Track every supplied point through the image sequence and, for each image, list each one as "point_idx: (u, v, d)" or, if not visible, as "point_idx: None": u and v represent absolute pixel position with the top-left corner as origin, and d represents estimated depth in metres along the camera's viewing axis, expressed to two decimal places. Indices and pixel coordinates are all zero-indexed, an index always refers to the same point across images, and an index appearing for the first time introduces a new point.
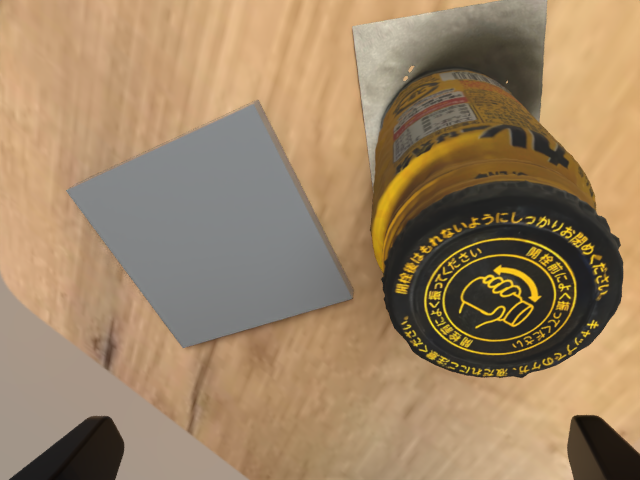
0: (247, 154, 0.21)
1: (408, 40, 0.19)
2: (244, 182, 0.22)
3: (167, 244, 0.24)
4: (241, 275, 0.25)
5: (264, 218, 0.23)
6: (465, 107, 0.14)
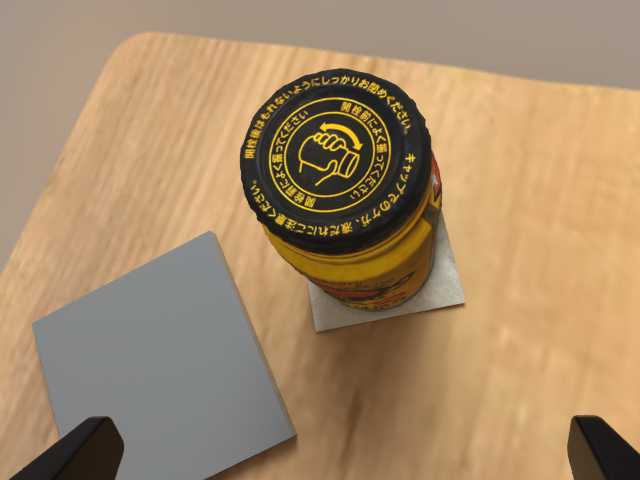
0: (198, 273, 0.24)
1: None
2: (192, 301, 0.24)
3: (106, 377, 0.24)
4: (173, 412, 0.23)
5: (206, 337, 0.23)
6: None
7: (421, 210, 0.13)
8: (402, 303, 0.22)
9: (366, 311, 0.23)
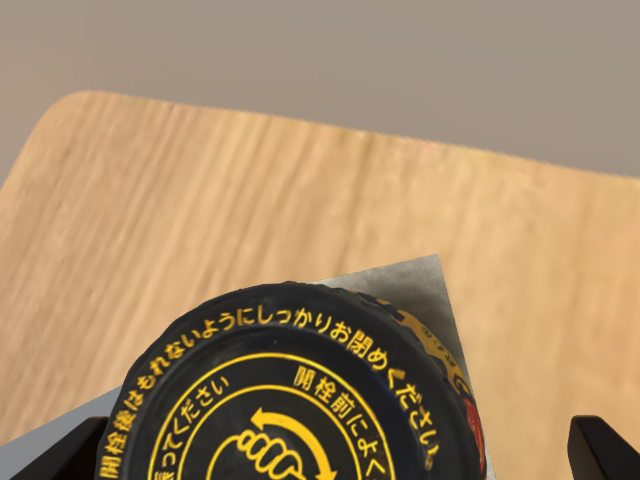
0: None
1: None
2: None
3: None
4: None
5: None
6: None
7: None
8: None
9: None
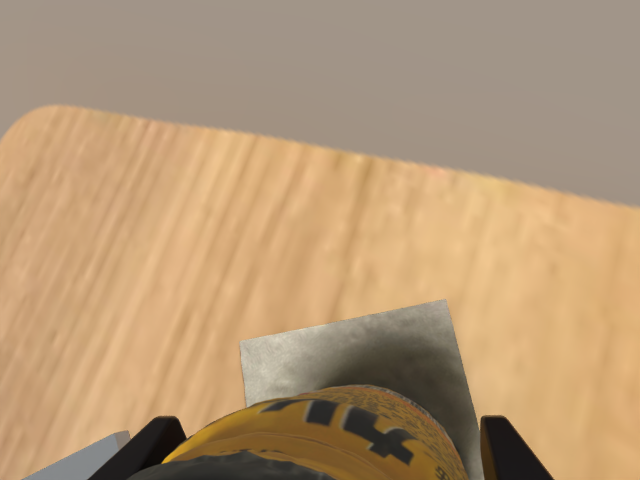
0: None
1: (301, 355, 0.16)
2: None
3: None
4: None
5: None
6: None
7: None
8: None
9: None
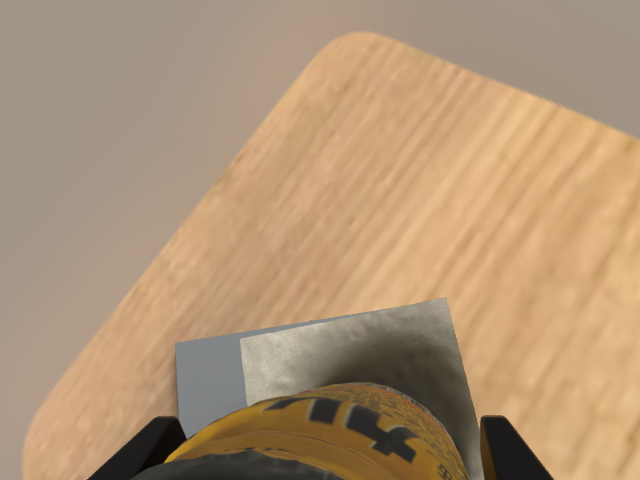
0: None
1: (301, 352, 0.16)
2: None
3: None
4: None
5: None
6: (300, 393, 0.09)
7: None
8: None
9: None
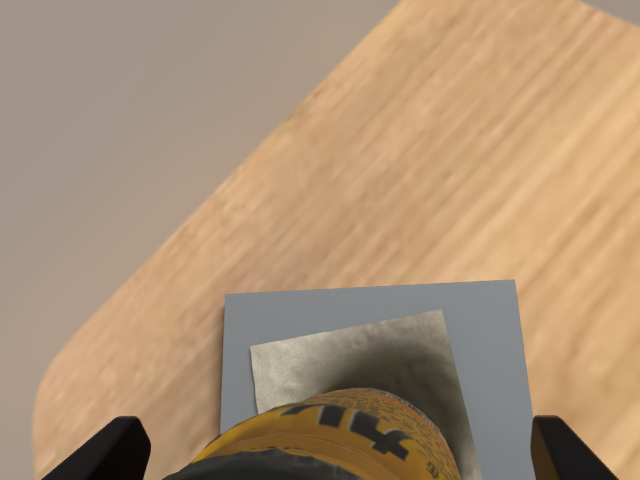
0: (480, 334, 0.17)
1: (307, 359, 0.17)
2: (460, 368, 0.16)
3: None
4: None
5: None
6: (309, 399, 0.11)
7: None
8: None
9: None
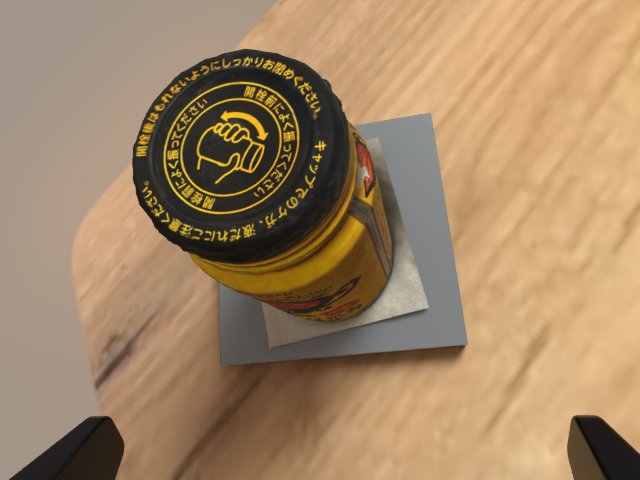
0: (407, 152, 0.22)
1: None
2: (393, 177, 0.22)
3: None
4: None
5: None
6: None
7: (344, 207, 0.11)
8: (361, 312, 0.21)
9: (323, 322, 0.21)
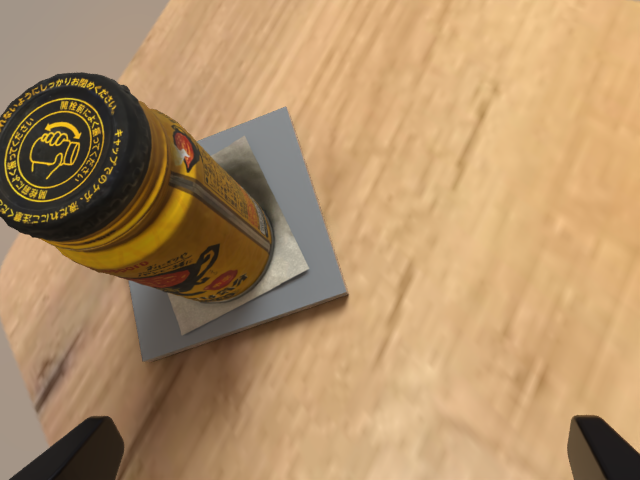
0: (272, 143, 0.26)
1: None
2: (263, 166, 0.25)
3: None
4: None
5: None
6: None
7: (160, 179, 0.14)
8: (254, 286, 0.23)
9: (224, 302, 0.24)
